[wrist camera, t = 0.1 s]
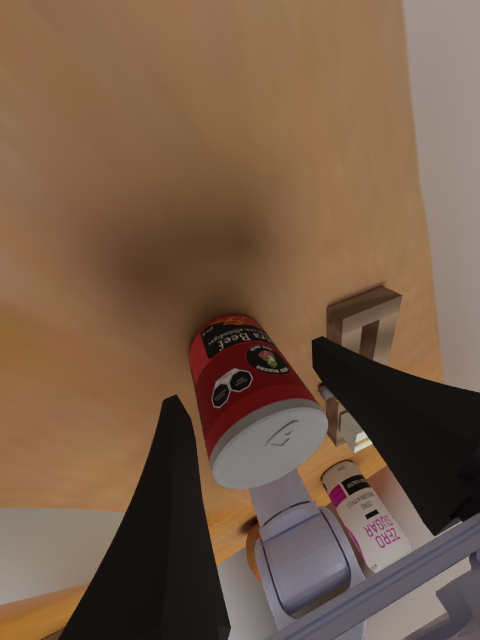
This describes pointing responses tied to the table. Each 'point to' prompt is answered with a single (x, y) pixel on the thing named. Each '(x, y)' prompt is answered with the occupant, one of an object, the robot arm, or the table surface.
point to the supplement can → (365, 517)
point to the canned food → (251, 404)
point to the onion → (253, 549)
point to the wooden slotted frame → (360, 338)
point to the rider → (353, 433)
